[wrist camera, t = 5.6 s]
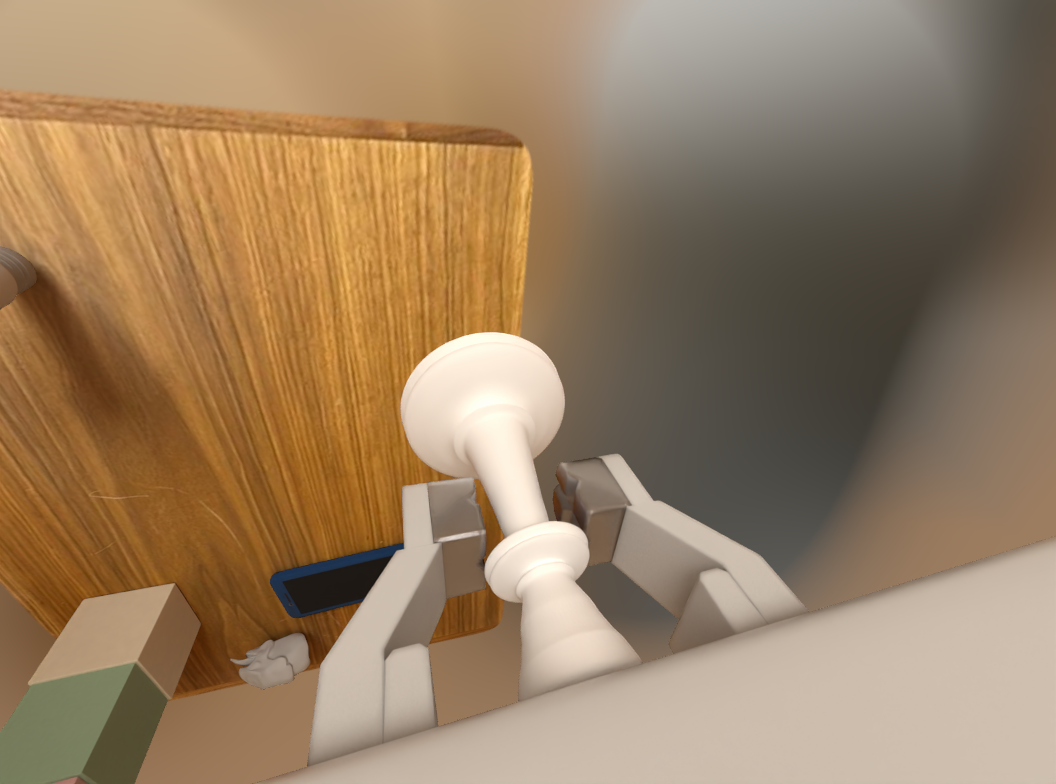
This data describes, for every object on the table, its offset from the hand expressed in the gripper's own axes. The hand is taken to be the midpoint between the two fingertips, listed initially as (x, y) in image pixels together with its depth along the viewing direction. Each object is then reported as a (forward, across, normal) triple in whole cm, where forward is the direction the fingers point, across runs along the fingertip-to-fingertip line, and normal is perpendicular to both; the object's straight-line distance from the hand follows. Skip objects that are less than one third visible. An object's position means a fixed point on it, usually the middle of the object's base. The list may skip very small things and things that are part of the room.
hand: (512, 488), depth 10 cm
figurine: (+24, +20, +43) cm, 54 cm away
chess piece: (+4, 0, 0) cm, 4 cm away
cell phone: (+24, +11, +35) cm, 44 cm away
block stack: (+24, +29, +34) cm, 51 cm away
